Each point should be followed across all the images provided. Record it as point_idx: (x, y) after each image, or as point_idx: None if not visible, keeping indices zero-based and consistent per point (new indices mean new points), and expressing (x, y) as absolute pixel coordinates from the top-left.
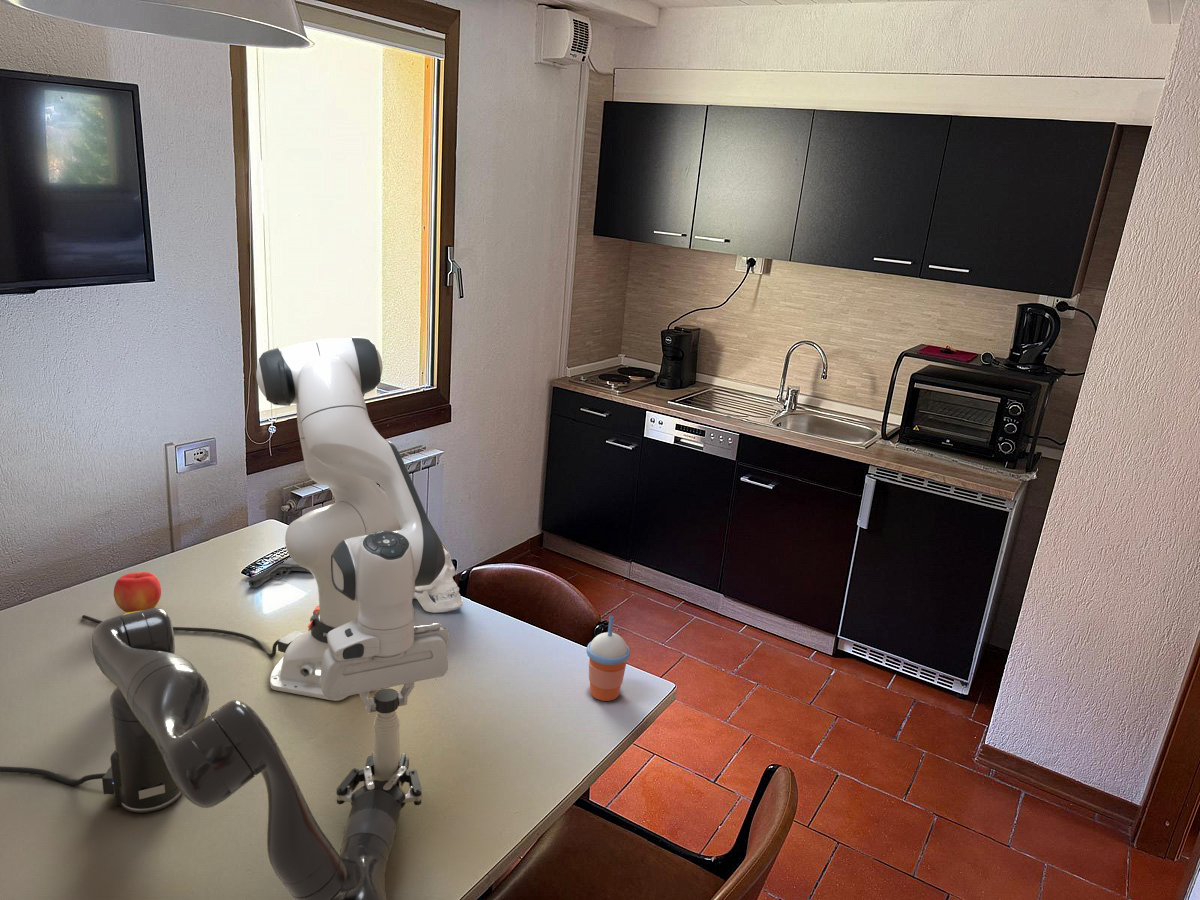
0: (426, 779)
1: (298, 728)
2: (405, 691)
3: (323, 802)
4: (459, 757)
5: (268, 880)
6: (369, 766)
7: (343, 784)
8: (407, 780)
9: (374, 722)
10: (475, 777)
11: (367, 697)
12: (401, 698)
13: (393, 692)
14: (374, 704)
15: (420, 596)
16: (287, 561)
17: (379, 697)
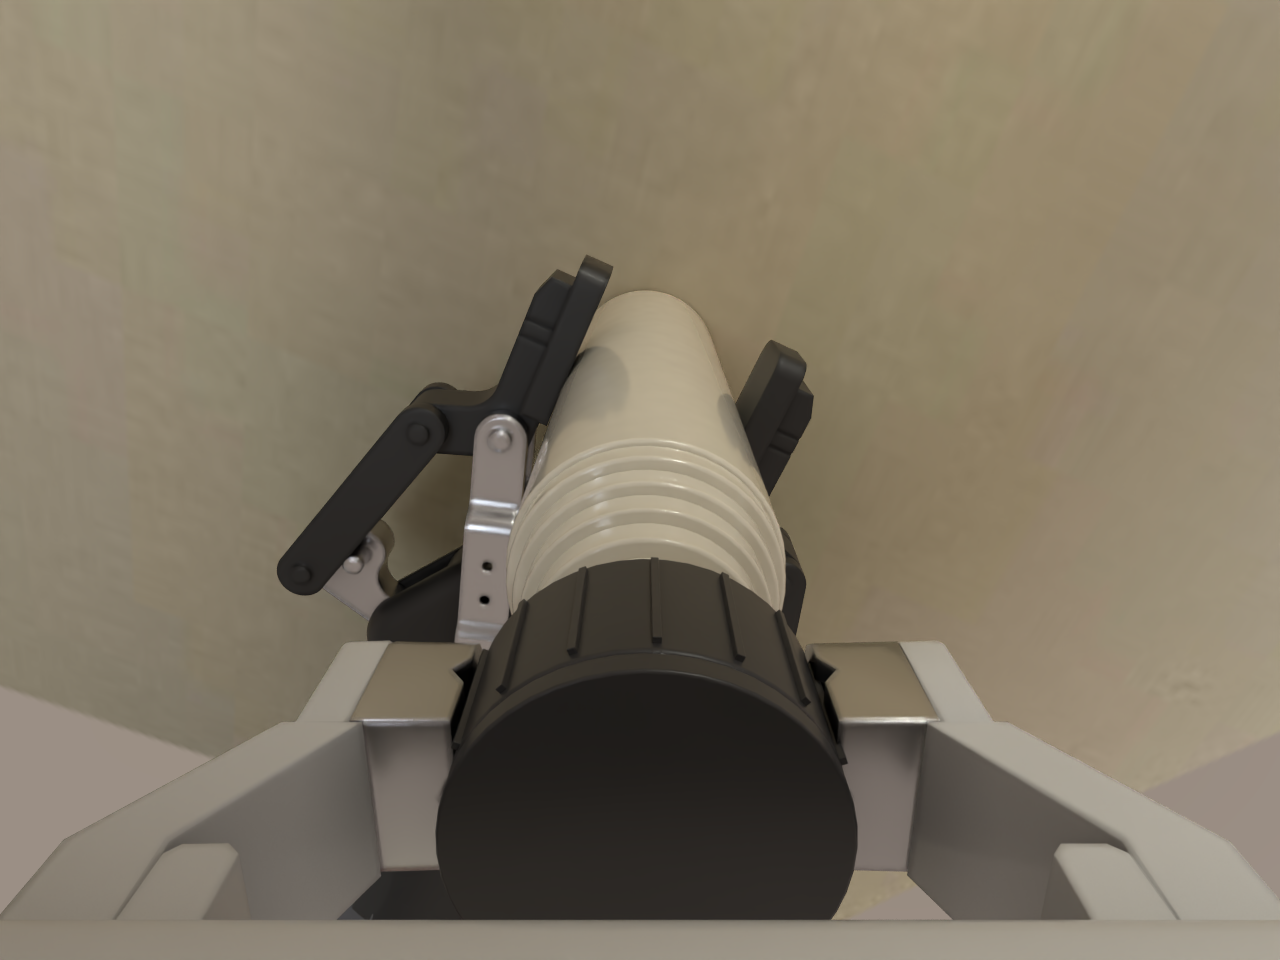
0: (900, 289)
1: None
2: (984, 903)
3: (311, 254)
4: (1170, 164)
5: (55, 658)
6: (521, 426)
7: (324, 538)
8: None
9: (516, 554)
10: (1153, 380)
11: (307, 828)
12: (870, 860)
13: (783, 837)
14: (433, 861)
15: None
16: None
17: (512, 884)
